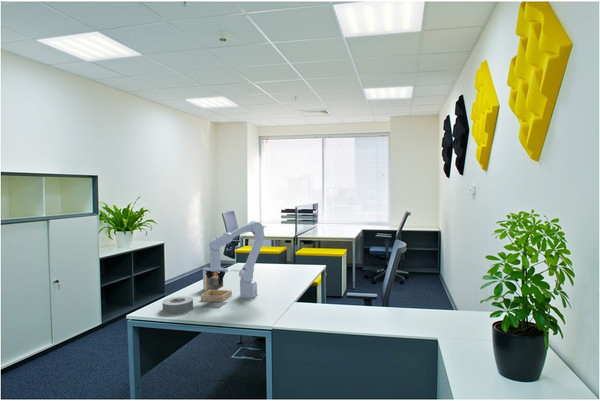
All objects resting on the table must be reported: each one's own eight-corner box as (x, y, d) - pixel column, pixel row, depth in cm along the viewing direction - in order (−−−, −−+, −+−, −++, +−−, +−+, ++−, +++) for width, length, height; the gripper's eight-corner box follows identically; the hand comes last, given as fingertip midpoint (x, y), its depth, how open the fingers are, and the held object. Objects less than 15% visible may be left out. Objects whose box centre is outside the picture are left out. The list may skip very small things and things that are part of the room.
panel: (227, 303, 208) (227, 302, 208) (219, 308, 198) (218, 307, 198) (210, 302, 211) (210, 301, 211) (201, 307, 201) (201, 306, 201)
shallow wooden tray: (231, 296, 222) (231, 290, 221) (222, 302, 210) (222, 296, 210) (211, 295, 225) (211, 289, 225) (200, 301, 213) (200, 295, 213)
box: (223, 286, 218) (223, 276, 218) (216, 289, 210) (216, 279, 210) (215, 286, 219) (215, 275, 219) (208, 289, 212) (208, 278, 211)
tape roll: (187, 314, 191) (187, 304, 191) (157, 314, 191) (157, 304, 191) (196, 305, 206) (196, 295, 206) (168, 305, 207) (168, 296, 207)
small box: (206, 291, 233) (206, 270, 233) (203, 289, 238) (202, 269, 238) (219, 289, 238) (218, 269, 237) (215, 287, 243) (215, 267, 243)
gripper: (200, 261, 212) (200, 285, 213) (223, 262, 209) (224, 286, 209) (206, 259, 219) (207, 282, 220) (229, 260, 215) (230, 283, 216)
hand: (215, 284), depth 215 cm, fingers closed on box, 5 cm apart
